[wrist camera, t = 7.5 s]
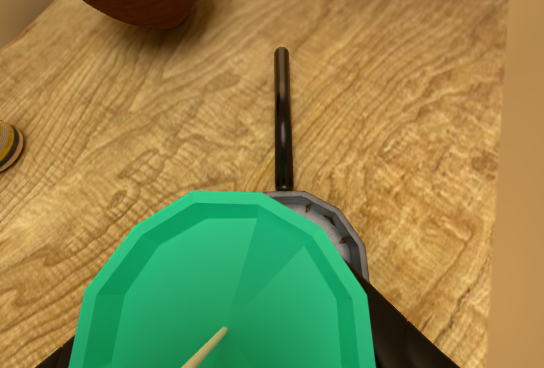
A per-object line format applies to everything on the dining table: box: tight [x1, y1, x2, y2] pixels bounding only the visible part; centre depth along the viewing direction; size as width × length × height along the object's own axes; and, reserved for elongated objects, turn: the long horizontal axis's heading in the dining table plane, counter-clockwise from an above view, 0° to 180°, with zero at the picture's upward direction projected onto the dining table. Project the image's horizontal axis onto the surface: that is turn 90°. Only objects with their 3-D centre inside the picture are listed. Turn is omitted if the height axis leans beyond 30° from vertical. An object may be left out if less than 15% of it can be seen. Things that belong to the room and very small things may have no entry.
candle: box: [68, 191, 376, 368], centre depth 8 cm, size 6×6×12 cm
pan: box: [263, 47, 370, 283], centre depth 21 cm, size 28×12×3 cm, turn 0°
